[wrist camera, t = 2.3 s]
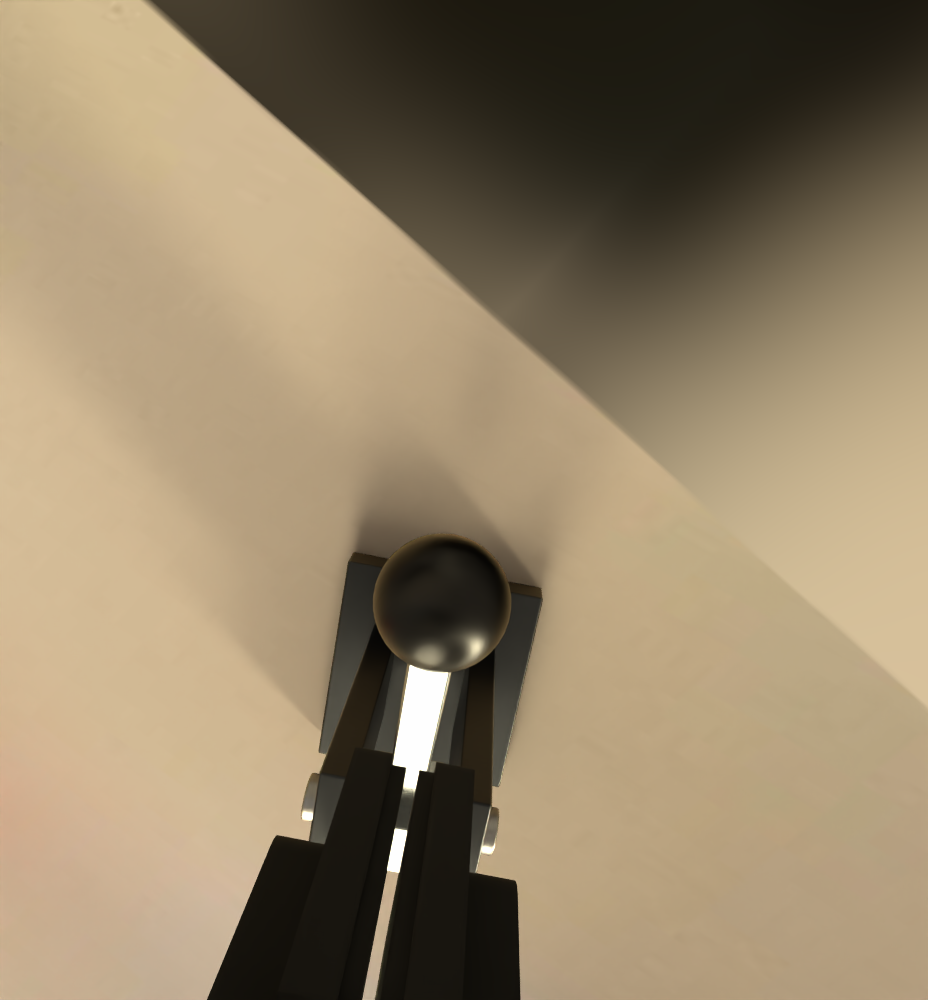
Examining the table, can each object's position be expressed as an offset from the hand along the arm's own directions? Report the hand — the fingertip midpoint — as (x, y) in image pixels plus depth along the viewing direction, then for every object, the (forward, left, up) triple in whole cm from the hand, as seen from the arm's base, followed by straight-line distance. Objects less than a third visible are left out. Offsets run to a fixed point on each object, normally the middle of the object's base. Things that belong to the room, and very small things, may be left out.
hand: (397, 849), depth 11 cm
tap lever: (+3, +2, -12) cm, 12 cm away
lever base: (+8, +4, -22) cm, 24 cm away
